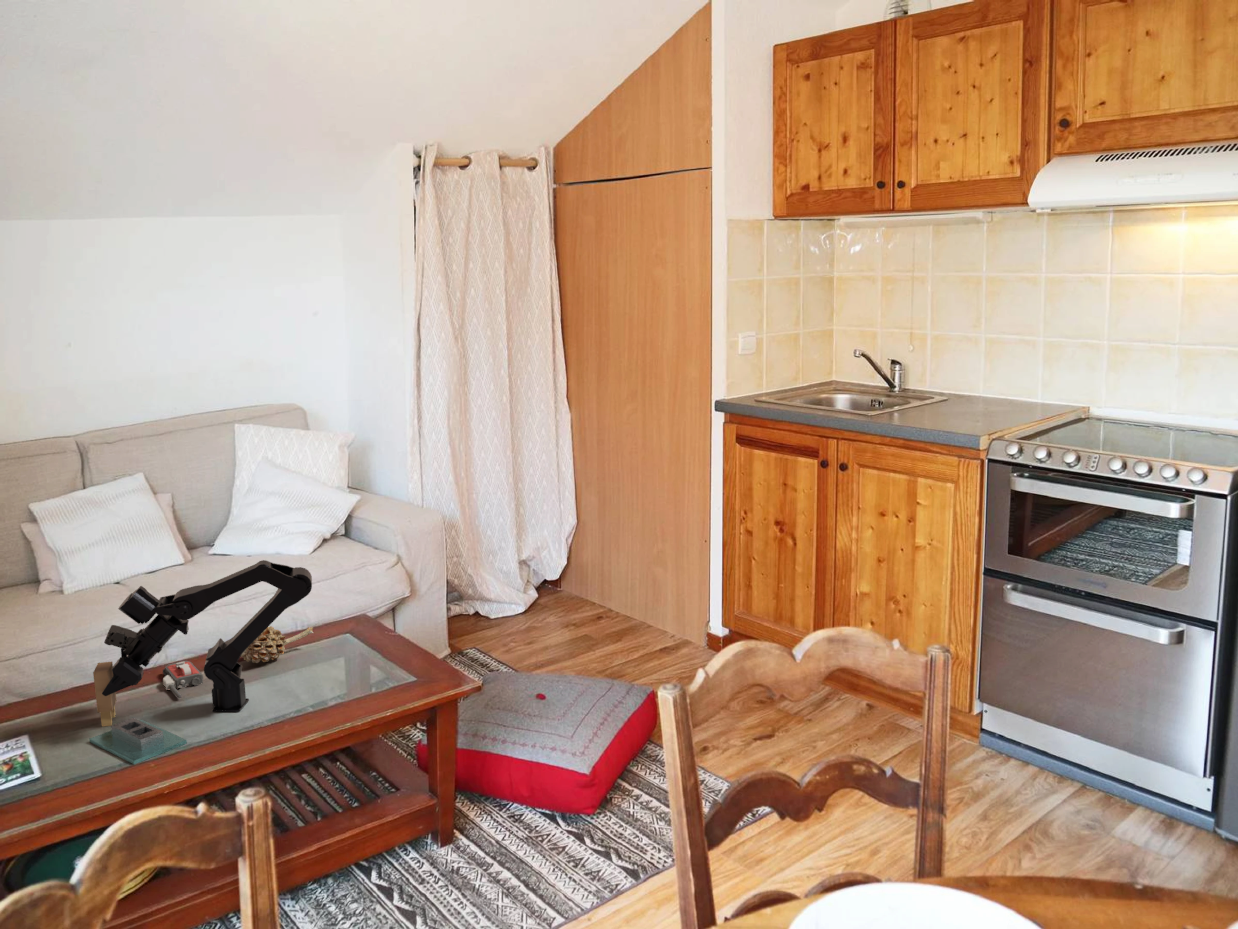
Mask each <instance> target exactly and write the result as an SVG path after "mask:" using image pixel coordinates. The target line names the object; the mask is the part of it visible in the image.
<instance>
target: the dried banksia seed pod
mask: <svg viewBox="0 0 1238 929" xmlns="http://www.w3.org/2000/svg"><path fill="white" fill-rule="evenodd" d="M313 629H314V627H313V626H310V627H309V626H307V629H305V630H304V631H302V632H300V633H298V634H296V635H294V636H292V637H288V638H286V635H282V634H283V633H282V632H281V630H279V629H275V627H273V626H272V625H269V626H268V627H267V628H266V629H265V630H264V631H263V632H262V634H261V635H260V636H259V637H258V638H257V639H256V640H255V641H254V642H253V643H252V644H251V645H250V646H249V647H248V648H247V649H246V650H245V651H244V652H243V653H242V655H241V657H240V658H243V661H246V662H247V663H249V662H250V661H252V663H253V664H258V663H260V661H261V662H262V663H268V662H269V661H270V660H271V661H274V660H276V659H279V658H280V655H284V653H285V652H284V651H286V648H285V646H286V645H289V644H291V643H294V642H296V641H298V640H300V639H302V638H304V637H305V638H306V636H308V635H311V634H314V632H313Z"/></svg>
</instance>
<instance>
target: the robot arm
mask: <svg viewBox="0 0 1238 929" xmlns="http://www.w3.org/2000/svg"><path fill="white" fill-rule="evenodd" d="M312 581H313V577H312V574H311V572H310V571H309V570H308V569H307V568H304V567H302V566H301V567H300V566H299V567H292V566H289V565H286V564H285V565H284V564H280V563H274V562H271V561H269V560H266V559H265V560H264V559H262V560H259V561H258V562H256V563H255V564H253V565H250V566H248V567H246V568H243V569H241V570H238V571H237V572H234V573H231V574H229V575H227V576H225V577H222V578H220V579H217V580H215V581H213V582H210V583H207V584H201V585H200V584H199V585H193V586H190V587H185V588H182V589H180V590H178V591H177V592H176V593H175V594H171V595H166V596H165V595H164V596H161V597H159V598H157V597H155V596H154V595H153V594H151V593H150V592H149V591H148V590H147V589H146V588H145V587H144V586H143V585H140V586H138V588H137V589H135V590H134V591H133V592H131V593H130V594H129V595H128V596H127V597H126V598H125V599H124V600H123V602H122V603H121V604H120V605H119V606H118V608H117V609H118V610H119V611H120V612H121V613H123V614H124V615H126V617H128V618H130V619H131V620H132V621H134V622H135V623H136V624H138V625H139V624H141V625H143V624H147V623H149V621H150V623H149V624H147V626H146V627H143V628H140V629H139V630H138V631H133V630H132V629H130V628H126V627H122V626H119V625H115V624H112V625H110V628H109V629H108V632H107V635H106V637H105V639H104V644H105V645H107V646H113V647H117V648H120V655H121V657H119V658H118V659H117V660H116V661H115V663H114V664H113V668H112V672H113V677H112V678H111V680H110V681H109V683H108V684H107V686H106V687H105V689H104V691H103V692H102V694H103V695H104V696H108V695H110V694H112V693H115V692H116V693H118V692H119V691H121V690H123V689H126V688H129V687H134V686H137V685H138V684H139V682H141V680H142V679H143V676H144V668H143V667H142V666H144V667H145V668H146V667H147V666H148V665H149V664H150V661H151V660H152V659H153V658H154V657H155V656H156V654H160V653H161V651H162V650H163V647H164V646H165V645H166V643H168V642H169V641H170V640H171V639H172V638H173V637H174V635H175V634H176V633H177V632H178V631H179V632H180V633H182V634H183V635H184V636H185V635H188V633H189V629H190V628H189V621H190V619H192V618H194V617H195V616H197V615H199V614H200V613H201V612H203V611H205V610H206V609H207V608H208V607H210V606H211V605H212V604H214V603H215V602H217V601H219V600H223V599H224V598H226V597H229V596H232V595H233V594H236V593H238V592H240V591H243V590H245V589H247V588H249V587H252V586H254V585H256V584H260V583H261V582H263V583H267V584H269V585H271V586H272V587H275V588H276V589H277V590H276V591H275V593H274V595H273V596H271V598H270V599H269V600H268V601H267V602H265V604H264V605H263V606H262V607H261V608H260V609H259V610H258V611H257V612H255V614H254V615H253V616H252V617H251V618H250V619H249V620H248V621H247V622H246V623H245V624H244V625H243V626H242V627H241V628H240V629H239V630H238V631H237V632H236V633H235V634H234V636H232V637H231V638H230V639H227V640H226V641H224V640H223V639H222V638H218V640H217V642H216V643H215V645H213V646H212V647H211V648H208V650H207V654H206V658H205V663H204V666H203V673H204V675H205V677H206V678H207V679H208V680H210V681H212V685H213V686H212V687H213V688H211V700H212V706H213V707H212V709H211V712H213V713H214V712H222V713H223V712H232V713H233V712H240V711H241V710H242V709H244V707H245V706H246V705H247V703H248V702H249V701H250V699H249V698H247V696H246V695H247V694H246V682H245V678H242V677H241V676H242V672H243V671H242V670H243V665H242V664H241V663H239V662H238V661H239V660H240V658H242V657H241V655H242V653H243V652H244V651H245V650H246V649H247V648H248V647H249V646H250V645H251V644H252V643H253V642H254V641H255V640H256V639H257V638H258V637H259V636H260V635H261V634H262V632H263V631H264V630H265V629H266V628H267V627H270V626H271V624H272V623H273V622H275V620H276V619H277V618H278V617H279V616H280V615H281V614H282V613H283V612H284V611H285V610H286V609H289V608H291V607H292V606H293V605H295V604H297V603H299V602H300V601H302V600H303V599H304V598H306V597H307V596H308V595H309V594H310V592H311V591H312V589H313V582H312ZM156 614H157V615H156ZM155 615H156V616H155ZM154 616H155V617H154ZM152 618H153V619H152ZM151 619H152V620H151ZM141 665H142V666H141Z"/></svg>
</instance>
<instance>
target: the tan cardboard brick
mask: <svg viewBox="0 0 1238 929" xmlns="http://www.w3.org/2000/svg"><path fill="white" fill-rule="evenodd" d="M113 666H114V664H113V661H105V662H104V661H103V662H98V663H97V664H96V666H95V668H94V670H93V672H92V673H93V682H94V691H95V693H94V694H95V701H96V702H95V703H96V709H97V710H96V712H97V713H99V714H100V722H101V727H111V725H113V718H115V717H116V716H117V715H116V708H115V706H116V703H117V692H115V693H112V694H110V695H108V696H104V695H103V694H102V692H103V691H104V689H105V687H106V686H107V684H108V683H109V681H110V680H111V678H112V677H113V672H112V668H113ZM115 715H116V716H115Z"/></svg>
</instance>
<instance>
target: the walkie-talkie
mask: <svg viewBox="0 0 1238 929" xmlns="http://www.w3.org/2000/svg"><path fill="white" fill-rule="evenodd" d="M162 674H163V675H164V677H163V678H162V684H163V685H164V686H165V687H166V688H165V687H164V686H163V687H164V688H165V690H168V689H170V692H172V694H173V695H175V697H176V698H179V699H181V698H182V694H181V693H180V692H179V691H178V689H176V688H182V687H185V686H186V687H185V688H188V687H187V686H190V687H193V686H192V685H194V686H198V685H202V684H204V676H203V673H202V672H201V670H199V669H198V668H197V667H196V666H195V665H194V663H193V662H192V661H188V660H182V661H178V662H173V663H169V664H167V665H166V666H164V668H163V669H162ZM201 683H202V684H201ZM182 689H183V688H182Z"/></svg>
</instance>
